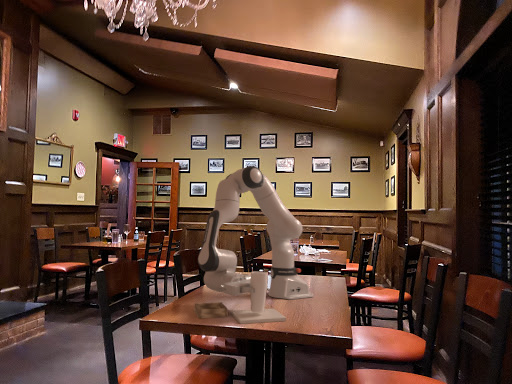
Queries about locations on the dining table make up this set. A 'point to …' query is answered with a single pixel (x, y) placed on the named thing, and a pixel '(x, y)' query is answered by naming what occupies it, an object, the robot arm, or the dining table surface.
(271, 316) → the plate
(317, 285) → the dining table surface
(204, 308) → the wooden tray
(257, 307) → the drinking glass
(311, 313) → the dining table surface
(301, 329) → the dining table surface
